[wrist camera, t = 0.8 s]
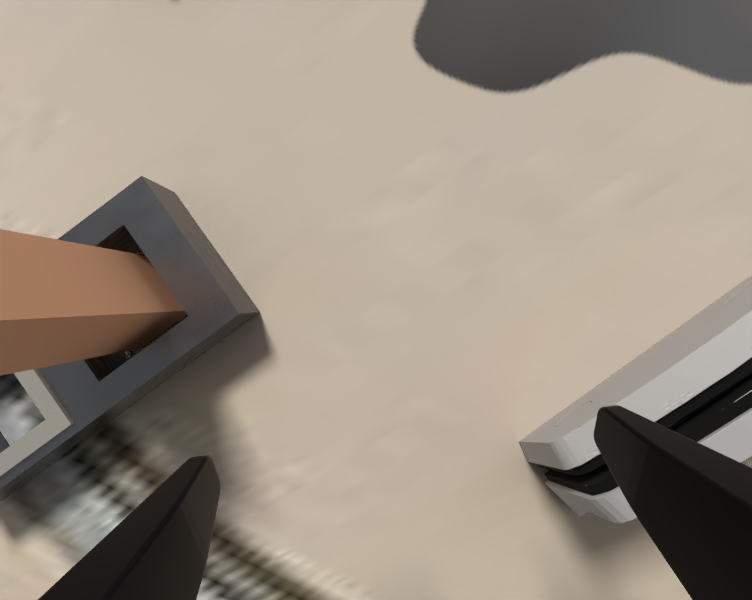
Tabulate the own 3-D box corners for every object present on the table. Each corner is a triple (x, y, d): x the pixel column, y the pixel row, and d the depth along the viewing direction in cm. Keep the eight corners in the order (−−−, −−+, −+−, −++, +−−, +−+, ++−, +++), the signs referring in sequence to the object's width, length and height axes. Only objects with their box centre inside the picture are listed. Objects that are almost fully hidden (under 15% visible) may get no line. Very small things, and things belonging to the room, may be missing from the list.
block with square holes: (2, 499, 23) (-59, 531, 20) (-78, 381, 23) (-152, 394, 20) (259, 311, 23) (237, 313, 19) (174, 192, 23) (139, 174, 20)
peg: (141, 348, 23) (-188, 411, 10) (104, 295, 23) (-270, 289, 10) (192, 310, 23) (-72, 324, 10) (155, 257, 23) (-156, 201, 10)
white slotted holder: (567, 513, 22) (637, 592, 13) (512, 441, 24) (538, 463, 14) (806, 345, 21) (1067, 296, 12) (732, 283, 23) (910, 199, 14)
